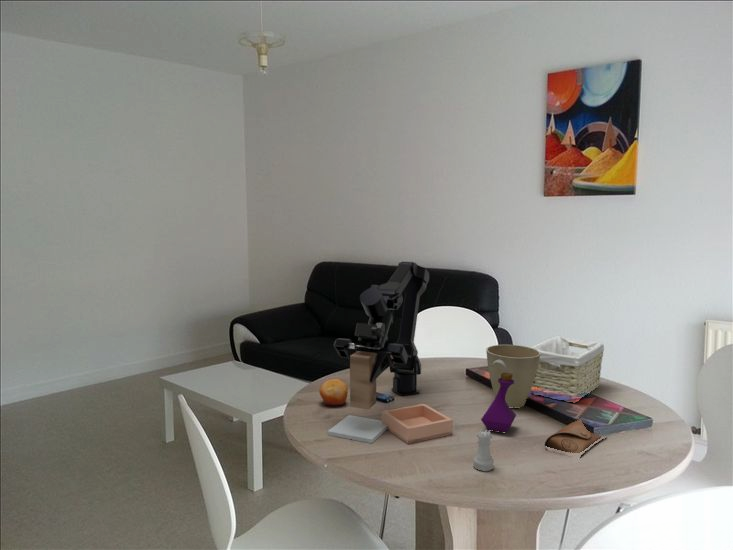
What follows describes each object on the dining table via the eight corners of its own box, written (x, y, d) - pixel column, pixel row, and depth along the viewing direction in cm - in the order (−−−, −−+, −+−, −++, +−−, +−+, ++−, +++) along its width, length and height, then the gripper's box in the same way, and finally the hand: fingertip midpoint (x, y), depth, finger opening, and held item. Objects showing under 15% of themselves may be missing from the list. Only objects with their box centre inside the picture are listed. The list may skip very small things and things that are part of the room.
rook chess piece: (470, 463, 120) (471, 428, 119) (490, 462, 120) (491, 427, 120) (476, 472, 116) (477, 436, 115) (496, 471, 116) (498, 435, 115)
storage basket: (576, 407, 156) (579, 356, 154) (523, 394, 167) (524, 347, 165) (603, 387, 174) (606, 342, 172) (554, 377, 185) (556, 334, 183)
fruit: (350, 392, 163) (348, 374, 158) (347, 414, 156) (345, 395, 151) (323, 391, 163) (320, 373, 159) (319, 413, 157) (316, 394, 152)
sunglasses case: (580, 460, 121) (566, 431, 123) (553, 467, 126) (540, 439, 128) (609, 437, 135) (596, 411, 136) (583, 444, 139) (571, 418, 141)
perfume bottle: (516, 426, 141) (518, 358, 139) (510, 437, 134) (513, 366, 132) (487, 422, 144) (489, 355, 142) (480, 432, 137) (482, 362, 135)
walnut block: (358, 400, 140) (358, 351, 139) (376, 403, 138) (376, 353, 137) (350, 406, 136) (350, 355, 134) (368, 409, 134) (368, 357, 132)
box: (423, 417, 147) (424, 403, 147) (452, 434, 136) (452, 419, 135) (381, 425, 141) (381, 411, 141) (407, 444, 130) (407, 428, 129)
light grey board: (348, 418, 146) (348, 415, 146) (390, 425, 141) (390, 422, 141) (327, 434, 135) (327, 431, 135) (372, 443, 130) (372, 439, 130)
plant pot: (480, 409, 153) (482, 354, 152) (489, 393, 167) (490, 342, 165) (535, 417, 148) (538, 359, 146) (540, 400, 161) (542, 347, 160)
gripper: (336, 307, 142) (316, 359, 133) (404, 313, 134) (388, 368, 126) (349, 331, 150) (331, 381, 141) (414, 337, 143) (399, 391, 134)
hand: (361, 380), depth 135 cm, fingers closed on walnut block, 5 cm apart
